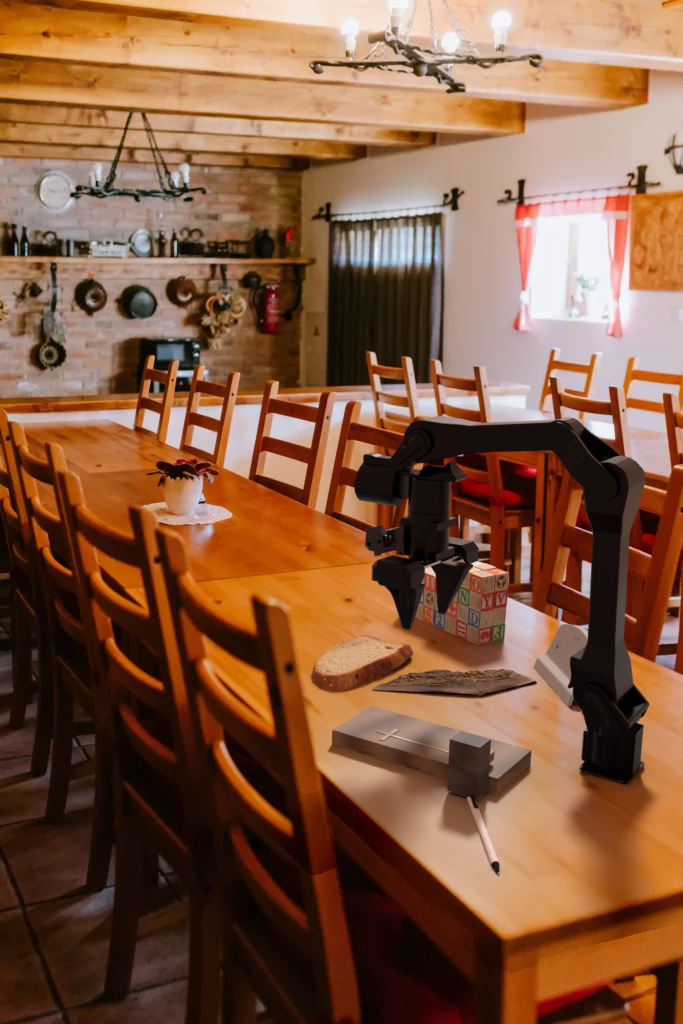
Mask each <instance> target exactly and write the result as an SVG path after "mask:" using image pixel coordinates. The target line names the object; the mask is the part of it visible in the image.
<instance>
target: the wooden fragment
mask: <svg viewBox="0 0 683 1024" xmlns="http://www.w3.org/2000/svg"><path fill="white" fill-rule="evenodd" d="M532 682H533V683H536V684H538V682H537V680H535V679H533V678H531V677H529V676H527V675H526V676H525V674H521V673H517V672H516V671H515V670H512V669H505V668H500V669H484V670H482V671H480V670H477V669H475V670H469V671H465V672H463V671H459V670H457V671H455V670H454V671H452V670H450V669H434V670H428V671H423V672H411V671H410V672H408V673H407V674H406V673H405V674H401V675H400V676H398V677H396V678H393V679H391V680H389V681H388V682H383V683H380V684H378V685H376V686H374V687H373V688H372V689H371V691H395V692H396V691H402V692H438V693H439V692H440V693H441V692H442V693H443V692H444V693H454V694H463V695H464V694H470V695H477V696H478V697H479V696H483V695H486V694H488V693H493V692H496V691H500V690H505V689H510V688H514V687H519V686H522V685H527V684H530V683H532Z"/></svg>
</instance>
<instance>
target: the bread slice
mask: <svg viewBox="0 0 683 1024" xmlns="http://www.w3.org/2000/svg"><path fill="white" fill-rule="evenodd" d="M413 654H414V650H413V648H412V646H411V645H410V644H409V643H408V642H406V643H405V642H402V643H401V644H395V643H392V642H389V641H386V640H383V639H381V638H379V637H375V636H371V635H366V634H365V635H361V636H358V637H355V638H351V639H348V640H342V641H341V642H339V643H337V644H334V646H332V647H329V648H328V649H326V650H325V651H324V652H323V653H322V656H321V657H320V658H318V659H317V660H316V661H315V663H314V665H313V669H312V674H311V676H312V680H313V681H314V683H315V684H316V685H318V686H319V687H322V688H323V689H326V690H331V691H343V690H344V691H345V690H349V689H350V688H354V687H358V686H362V685H363V684H366V683H369V682H370V681H372V680H376V679H377V678H379V677H381V676H385V675H386V674H387V673H390V672H392V671H393V670H395V669H398V668H399V667H400V666H402V664H404V663H405V662H406V661H407V660H408V659H409V658H410V657H412V656H413Z"/></svg>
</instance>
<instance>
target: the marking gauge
mask: <svg viewBox="0 0 683 1024" xmlns="http://www.w3.org/2000/svg"><path fill="white" fill-rule="evenodd" d="M478 735H479V734H475V733H472V734H471V732H468V733H467V731H464V730H461V731H460V732H459V733H457V734H456V735H455V736H453V737H452V738H451V739H450V741H449V761H448V779H447V784H446V785H447V787H446V791H447V792H449V793H453V794H456V795H459V796H463V797H465V798H467V797H469V796H470V795H473V796H474V797H475V800H476V801H478V800H479V799H481V797H483V796H484V795H485V794H486V793H487V792H489V791H488V783H489V766H490V763H491V762H492V761H493V760H494V752H495V751H493V750H490V749H491V739H492V738H490V739H489V737H486V736H482V735H479V736H478ZM485 737H486V738H485Z"/></svg>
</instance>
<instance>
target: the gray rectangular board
mask: <svg viewBox="0 0 683 1024" xmlns="http://www.w3.org/2000/svg"><path fill="white" fill-rule="evenodd" d="M460 731H462V730H461V729H458V728H457V729H456V728H452V727H450V726H449V727H448V726H445V725H442V724H439V723H434V722H431V721H427V720H424V719H420V718H416V717H414V716H409V715H406V714H401V713H399V712H398V713H397V712H396V711H395V712H394V711H391V710H388V709H384V708H380V707H376V706H370V707H368V708H366V709H365V710H362V711H361V712H360V713H358V714H357V715H354V716H353V717H351V718H349V719H348V720H345V722H342V723H341V724H339V725H338V726H336V727H335V728H333V729H332V730H331V745H334V746H338V747H341V748H345V749H347V750H351V751H354V752H358V753H361V754H363V755H367V756H370V757H374V758H377V759H381V760H384V761H386V762H391V763H393V764H397V765H400V766H404V767H407V768H411V769H414V770H416V771H420V772H422V773H427V774H428V775H429V774H430V775H433V776H437V777H439V778H440V777H441V778H443V779H446V780H448V761H449V741H450V739H451V738H452V737H453V736H455V735H456V734H457V733H459V732H460ZM466 732H467V731H466ZM467 733H469V732H467ZM470 733H471V732H470ZM471 734H473V733H471ZM477 735H478V736H480V735H479V734H477ZM484 737H485V738H487V737H486V736H484ZM488 738H489V737H488ZM489 739H491V749H490V750H493V751H495V752H494V760H493V761H492V762H491V763H490V766H489V783H488V791H487V792H489V793H493V794H495V795H498V794H499V793H500V792H501V791H502V790H503V789H504V788H506V787H507V786H508V785H509V784H510V783H511V782H512V781H513V780H515V779H516V778H517V777H518V776H519V775H520V774H522V773H523V772H524V771H525V770H526V769H528V767H530V765H531V763H532V749H529V748H526V747H522V746H518V745H515V744H511V743H507V742H504V741H500V740H497V739H494V738H489Z"/></svg>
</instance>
